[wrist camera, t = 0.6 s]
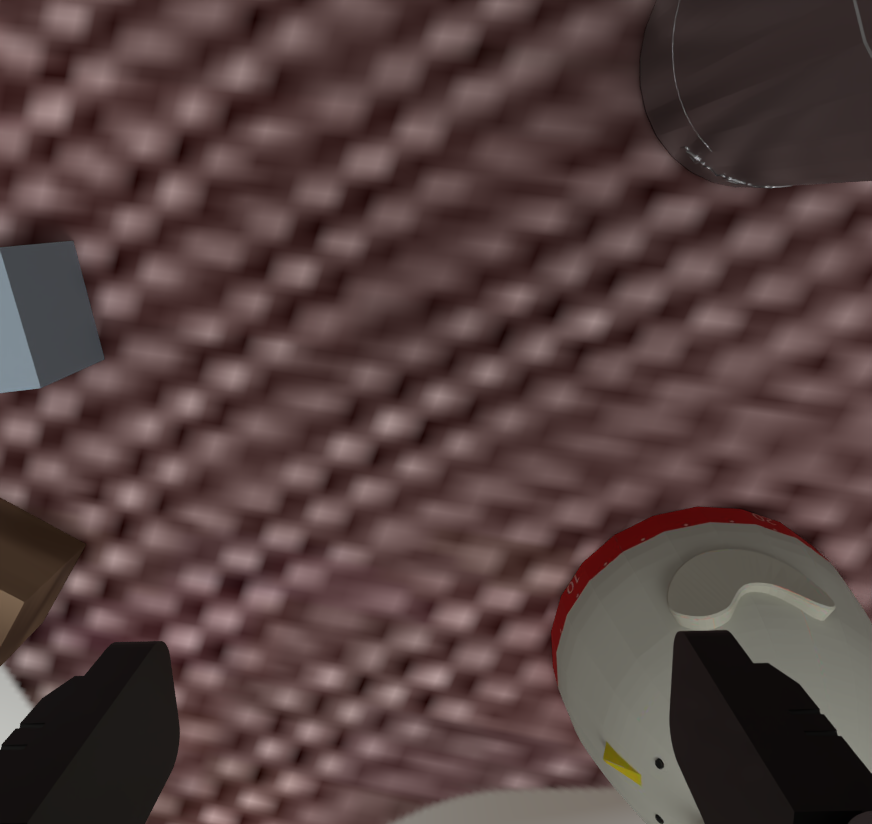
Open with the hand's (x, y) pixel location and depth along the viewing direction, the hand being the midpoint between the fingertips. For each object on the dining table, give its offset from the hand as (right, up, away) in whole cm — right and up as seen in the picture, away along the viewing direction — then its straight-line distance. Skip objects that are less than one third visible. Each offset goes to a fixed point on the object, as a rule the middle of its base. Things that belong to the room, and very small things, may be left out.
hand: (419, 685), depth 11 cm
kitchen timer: (+13, -7, +23) cm, 27 cm away
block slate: (-17, +9, +18) cm, 26 cm away
